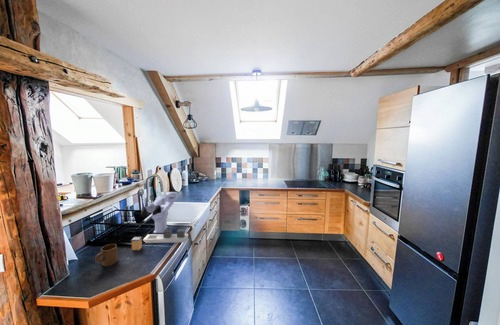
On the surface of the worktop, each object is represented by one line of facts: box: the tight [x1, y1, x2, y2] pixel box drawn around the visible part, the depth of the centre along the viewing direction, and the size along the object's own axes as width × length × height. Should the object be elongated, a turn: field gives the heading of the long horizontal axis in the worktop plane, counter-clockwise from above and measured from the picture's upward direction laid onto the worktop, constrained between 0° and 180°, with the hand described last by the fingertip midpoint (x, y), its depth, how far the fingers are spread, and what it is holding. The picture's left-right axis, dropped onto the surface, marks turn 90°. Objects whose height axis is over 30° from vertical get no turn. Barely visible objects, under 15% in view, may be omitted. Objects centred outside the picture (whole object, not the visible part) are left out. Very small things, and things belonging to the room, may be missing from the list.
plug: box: [131, 236, 143, 251], centre depth 129 cm, size 4×4×7 cm
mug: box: [94, 243, 119, 267], centre depth 113 cm, size 12×8×9 cm, turn 167°
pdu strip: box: [142, 228, 189, 244], centre depth 140 cm, size 7×28×7 cm, turn 94°
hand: (147, 214), depth 131 cm, fingers open, 7 cm apart
